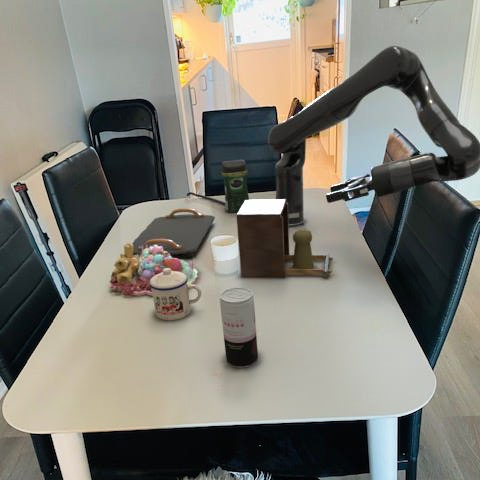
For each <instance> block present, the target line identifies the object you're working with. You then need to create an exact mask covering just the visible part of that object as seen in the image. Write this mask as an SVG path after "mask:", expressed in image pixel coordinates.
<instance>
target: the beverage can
mask: <svg viewBox="0 0 480 480" xmlns="http://www.w3.org/2000/svg"><path fill="white" fill-rule="evenodd" d="M219 306H220V307H219V308H220V317H221V324H222V333H223V344H224V351H225V360H226V362H227V363H228V365H230V366H232V367H234V368H240V369H241V368H242V369H243V368H248V367H250V366H252V365H254V364H255V363H256V362H257V361H258V359H259V352H258V351H259V350H258V338H257V337H258V336H257V324H256V312H255V310H256V309H255V297H254V294H253V291H252V290H251V289H249V288H246V287H232V288H227V289H225V290H224V291H222V292H221V293H220V295H219Z"/></svg>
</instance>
